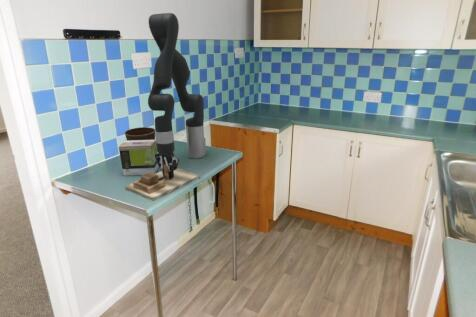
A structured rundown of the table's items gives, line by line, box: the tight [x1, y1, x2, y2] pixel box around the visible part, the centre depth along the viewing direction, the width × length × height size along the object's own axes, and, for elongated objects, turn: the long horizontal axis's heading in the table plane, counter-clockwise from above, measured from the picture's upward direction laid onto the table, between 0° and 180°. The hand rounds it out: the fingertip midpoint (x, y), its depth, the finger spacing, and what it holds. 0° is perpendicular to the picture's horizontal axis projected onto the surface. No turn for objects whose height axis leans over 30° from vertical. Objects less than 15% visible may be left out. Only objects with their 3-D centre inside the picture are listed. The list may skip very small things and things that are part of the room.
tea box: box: [118, 139, 160, 176], centre depth 151 cm, size 15×10×15 cm
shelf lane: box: [124, 167, 201, 201], centre depth 140 cm, size 27×18×4 cm, turn 144°
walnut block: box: [140, 163, 171, 186], centre depth 137 cm, size 14×5×7 cm, turn 144°
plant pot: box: [124, 126, 156, 141], centre depth 164 cm, size 15×15×16 cm
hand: (168, 177), depth 143 cm, fingers closed on walnut block, 3 cm apart
